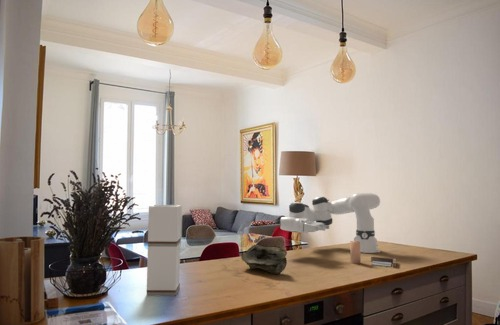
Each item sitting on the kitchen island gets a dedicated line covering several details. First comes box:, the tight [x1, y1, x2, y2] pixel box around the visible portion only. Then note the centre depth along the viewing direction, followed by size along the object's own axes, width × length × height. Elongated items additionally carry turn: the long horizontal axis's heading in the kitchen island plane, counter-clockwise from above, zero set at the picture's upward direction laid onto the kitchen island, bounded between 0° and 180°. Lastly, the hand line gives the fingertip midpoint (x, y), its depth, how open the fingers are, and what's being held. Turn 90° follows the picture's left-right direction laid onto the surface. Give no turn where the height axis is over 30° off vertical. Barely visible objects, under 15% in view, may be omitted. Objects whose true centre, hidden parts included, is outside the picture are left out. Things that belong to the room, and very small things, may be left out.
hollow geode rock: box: [240, 243, 288, 276], centre depth 190 cm, size 28×13×15 cm
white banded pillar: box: [146, 204, 182, 297], centre depth 153 cm, size 11×11×35 cm
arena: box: [370, 256, 397, 269], centre depth 210 cm, size 14×14×2 cm
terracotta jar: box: [349, 240, 362, 265], centre depth 213 cm, size 6×6×12 cm
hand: (327, 228), depth 220 cm, fingers open, 8 cm apart
